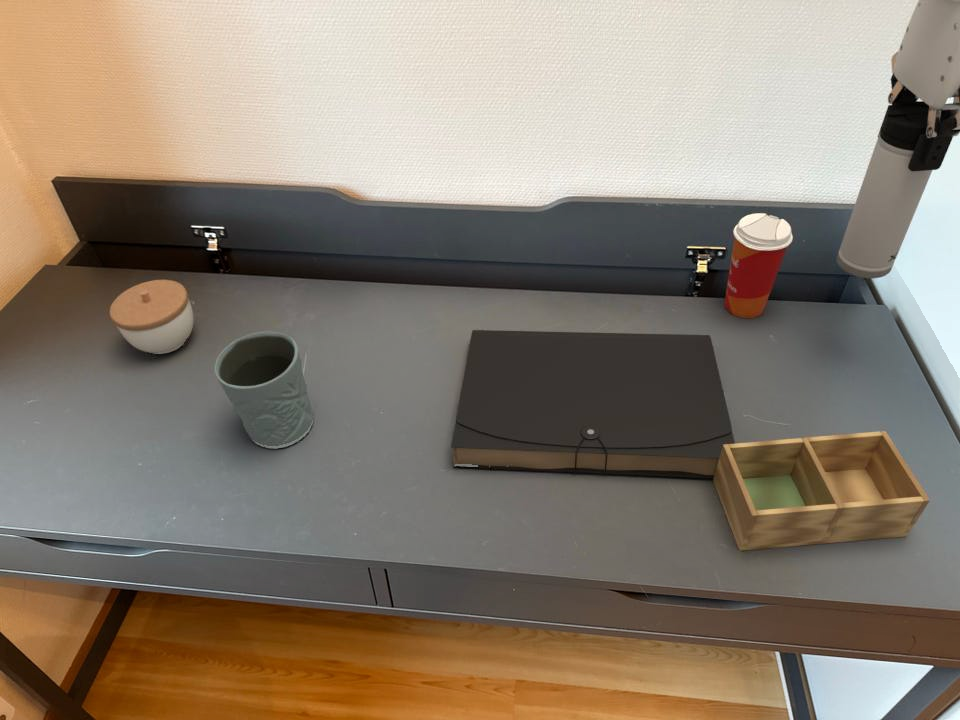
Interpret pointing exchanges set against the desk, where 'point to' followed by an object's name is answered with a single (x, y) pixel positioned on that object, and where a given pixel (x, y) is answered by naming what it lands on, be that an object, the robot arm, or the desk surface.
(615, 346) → the file folder
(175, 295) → the trinket box
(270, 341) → the green ceramic cup
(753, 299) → the paper cup
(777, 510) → the storage box
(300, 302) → the desk surface
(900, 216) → the travel mug
